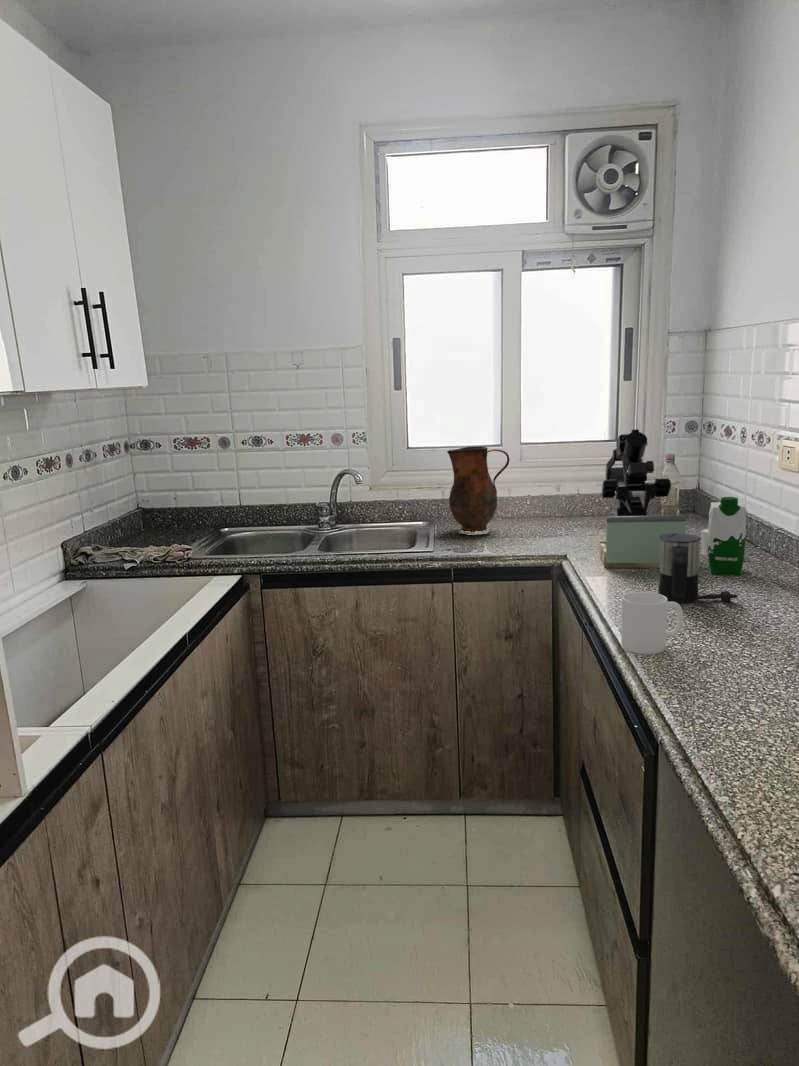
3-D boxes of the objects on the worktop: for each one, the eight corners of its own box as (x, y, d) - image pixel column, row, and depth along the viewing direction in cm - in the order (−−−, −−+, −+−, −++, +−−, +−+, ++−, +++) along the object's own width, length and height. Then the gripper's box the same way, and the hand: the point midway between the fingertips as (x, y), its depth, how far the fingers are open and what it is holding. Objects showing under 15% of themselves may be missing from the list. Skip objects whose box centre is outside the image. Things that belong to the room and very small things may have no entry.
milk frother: (652, 592, 173) (653, 533, 170) (717, 590, 172) (720, 530, 169) (671, 611, 159) (674, 546, 156) (743, 608, 158) (747, 544, 155)
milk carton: (708, 575, 185) (711, 499, 180) (705, 566, 193) (708, 493, 189) (745, 576, 182) (749, 499, 178) (741, 567, 190) (745, 494, 186)
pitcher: (450, 528, 258) (447, 446, 252) (509, 527, 256) (508, 443, 249) (449, 538, 242) (446, 450, 235) (512, 537, 239) (510, 448, 233)
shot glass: (728, 557, 201) (729, 533, 200) (702, 557, 202) (703, 533, 201) (722, 551, 208) (723, 528, 206) (697, 551, 209) (698, 528, 208)
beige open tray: (599, 557, 208) (599, 540, 207) (674, 556, 204) (675, 539, 203) (604, 567, 196) (604, 550, 195) (684, 567, 193) (684, 549, 192)
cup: (614, 641, 142) (615, 593, 140) (672, 636, 143) (673, 588, 141) (631, 657, 134) (632, 605, 132) (692, 651, 135) (694, 601, 133)
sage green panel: (605, 561, 196) (606, 515, 193) (683, 561, 192) (684, 514, 190) (606, 563, 194) (607, 517, 191) (684, 562, 191) (686, 515, 188)
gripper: (603, 452, 205) (607, 496, 197) (670, 450, 202) (678, 494, 194) (599, 475, 214) (603, 518, 206) (664, 474, 211) (671, 517, 203)
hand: (638, 512), depth 202 cm, fingers open, 4 cm apart
